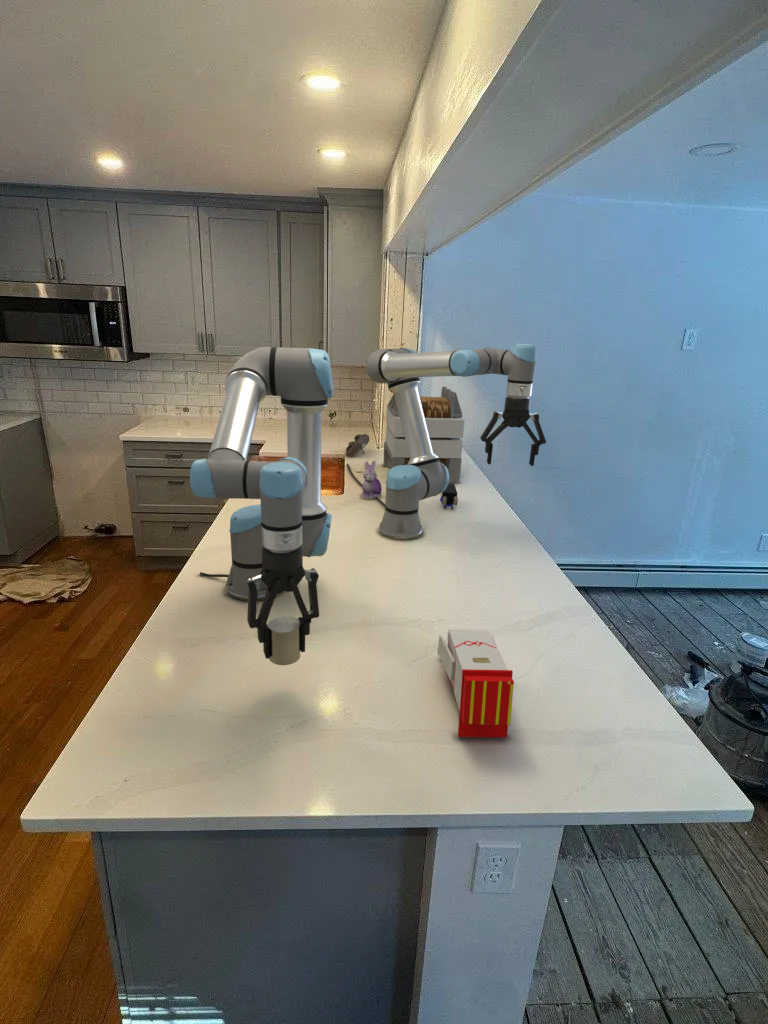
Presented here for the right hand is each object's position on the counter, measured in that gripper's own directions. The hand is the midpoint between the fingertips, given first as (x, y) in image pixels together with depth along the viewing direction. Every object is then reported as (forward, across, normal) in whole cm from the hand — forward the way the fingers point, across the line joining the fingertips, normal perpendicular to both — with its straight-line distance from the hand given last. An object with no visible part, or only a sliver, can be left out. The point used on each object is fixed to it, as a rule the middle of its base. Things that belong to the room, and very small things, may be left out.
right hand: (510, 464), depth 180 cm
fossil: (+30, -52, +126) cm, 139 cm away
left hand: (+21, -60, -77) cm, 100 cm away
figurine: (+30, -44, +52) cm, 74 cm away
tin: (+22, -60, -77) cm, 100 cm away
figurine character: (+30, -12, +44) cm, 55 cm away
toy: (+30, -22, -76) cm, 84 cm away
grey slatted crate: (+30, -21, +90) cm, 97 cm away
